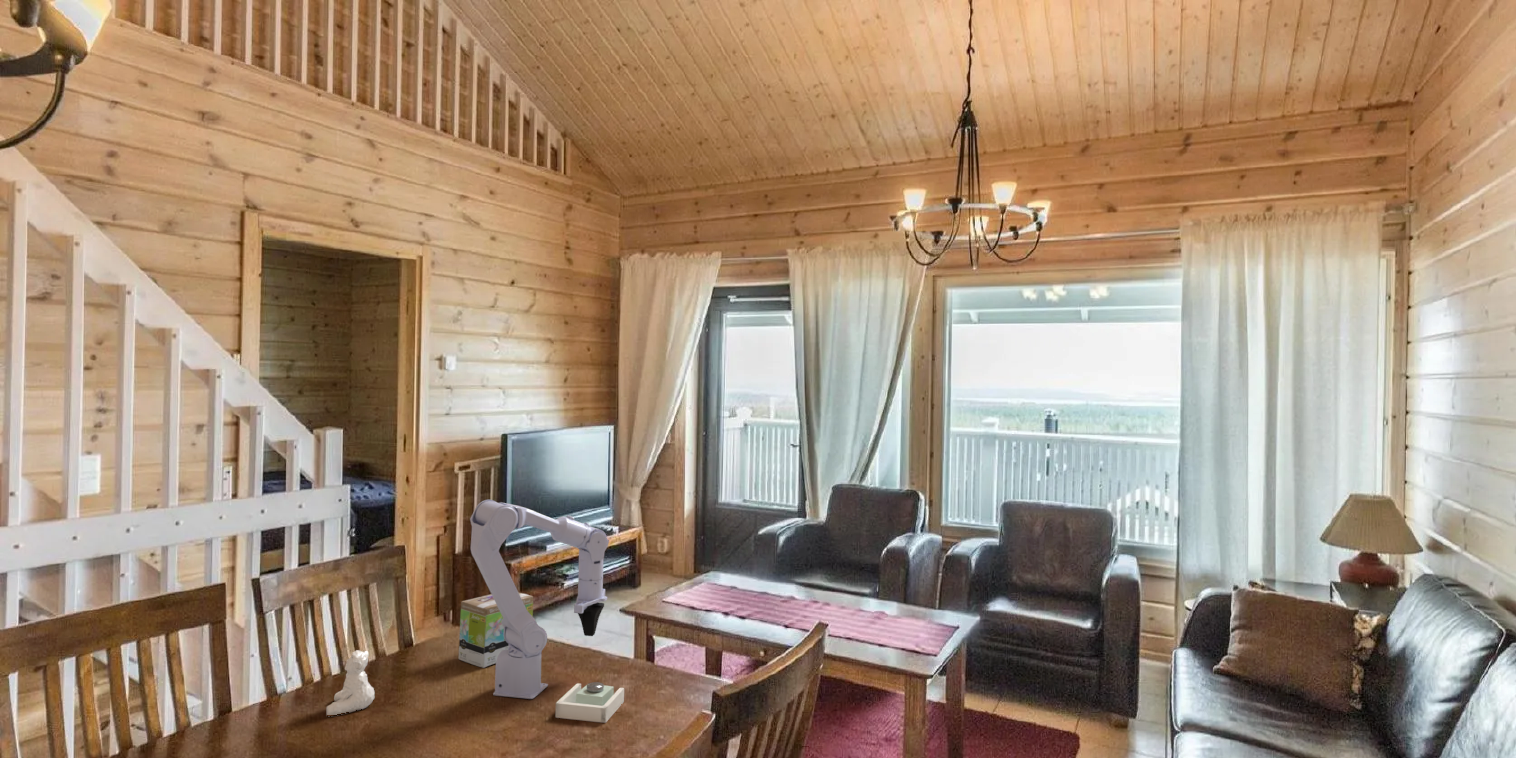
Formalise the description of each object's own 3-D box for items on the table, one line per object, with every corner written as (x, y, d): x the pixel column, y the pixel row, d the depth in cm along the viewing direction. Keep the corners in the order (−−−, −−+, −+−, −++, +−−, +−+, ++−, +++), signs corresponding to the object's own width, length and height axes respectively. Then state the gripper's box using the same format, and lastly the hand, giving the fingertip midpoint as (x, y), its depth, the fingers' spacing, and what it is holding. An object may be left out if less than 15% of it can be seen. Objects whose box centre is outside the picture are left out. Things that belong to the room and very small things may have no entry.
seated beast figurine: (336, 699, 176) (337, 644, 176) (379, 696, 179) (380, 641, 178) (324, 717, 167) (325, 659, 167) (370, 714, 169) (371, 656, 169)
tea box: (484, 669, 196) (485, 608, 196) (457, 660, 201) (458, 600, 201) (533, 652, 208) (534, 594, 208) (506, 644, 214) (507, 587, 214)
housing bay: (555, 717, 170) (555, 703, 170) (576, 696, 181) (576, 683, 181) (605, 722, 168) (605, 708, 168) (623, 701, 179) (624, 688, 179)
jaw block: (575, 709, 174) (576, 688, 174) (588, 699, 180) (588, 678, 180) (601, 713, 173) (602, 692, 173) (613, 702, 179) (613, 682, 179)
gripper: (595, 587, 186) (593, 646, 186) (617, 571, 200) (616, 627, 200) (565, 584, 187) (564, 643, 187) (590, 569, 201) (589, 624, 202)
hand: (589, 635), depth 194 cm, fingers closed
